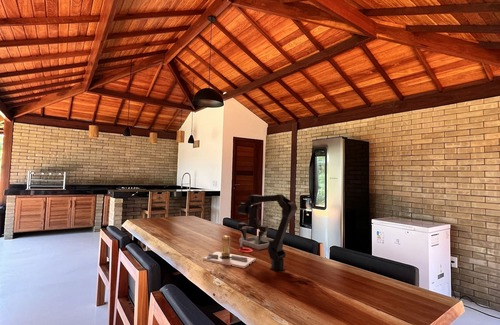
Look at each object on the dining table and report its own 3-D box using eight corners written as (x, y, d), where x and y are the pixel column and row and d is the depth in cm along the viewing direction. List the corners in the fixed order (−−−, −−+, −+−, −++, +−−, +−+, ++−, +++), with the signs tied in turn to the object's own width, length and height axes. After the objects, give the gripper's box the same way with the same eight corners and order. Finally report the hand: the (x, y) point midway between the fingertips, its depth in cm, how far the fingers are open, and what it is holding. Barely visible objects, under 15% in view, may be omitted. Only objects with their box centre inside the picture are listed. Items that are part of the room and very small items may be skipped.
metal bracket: (264, 238, 198) (249, 234, 207) (263, 246, 196) (247, 242, 206) (274, 240, 208) (259, 237, 218) (273, 248, 207) (257, 244, 216)
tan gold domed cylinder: (230, 258, 165) (230, 237, 165) (221, 258, 164) (222, 237, 164) (229, 255, 170) (230, 235, 170) (221, 255, 169) (221, 235, 169)
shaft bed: (255, 260, 167) (255, 255, 167) (244, 268, 152) (244, 262, 152) (216, 253, 179) (217, 248, 179) (203, 259, 164) (203, 254, 164)
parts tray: (279, 245, 204) (279, 241, 205) (258, 249, 190) (258, 245, 190) (260, 239, 221) (260, 235, 221) (239, 242, 207) (239, 239, 207)
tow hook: (254, 251, 189) (242, 248, 192) (255, 232, 189) (243, 230, 193) (249, 254, 181) (237, 251, 185) (250, 235, 181) (238, 232, 185)
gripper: (271, 215, 168) (271, 240, 168) (245, 212, 176) (244, 236, 175) (265, 217, 158) (264, 244, 158) (237, 214, 166) (236, 240, 165)
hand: (252, 241), depth 164 cm, fingers open, 9 cm apart
